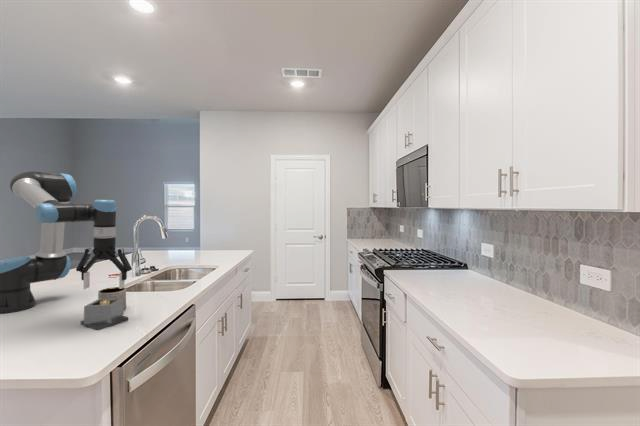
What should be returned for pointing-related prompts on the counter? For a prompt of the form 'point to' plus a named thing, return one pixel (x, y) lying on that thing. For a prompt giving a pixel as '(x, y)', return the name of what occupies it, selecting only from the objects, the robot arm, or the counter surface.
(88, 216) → the robot arm
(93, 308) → the collar
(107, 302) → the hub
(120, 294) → the planter
